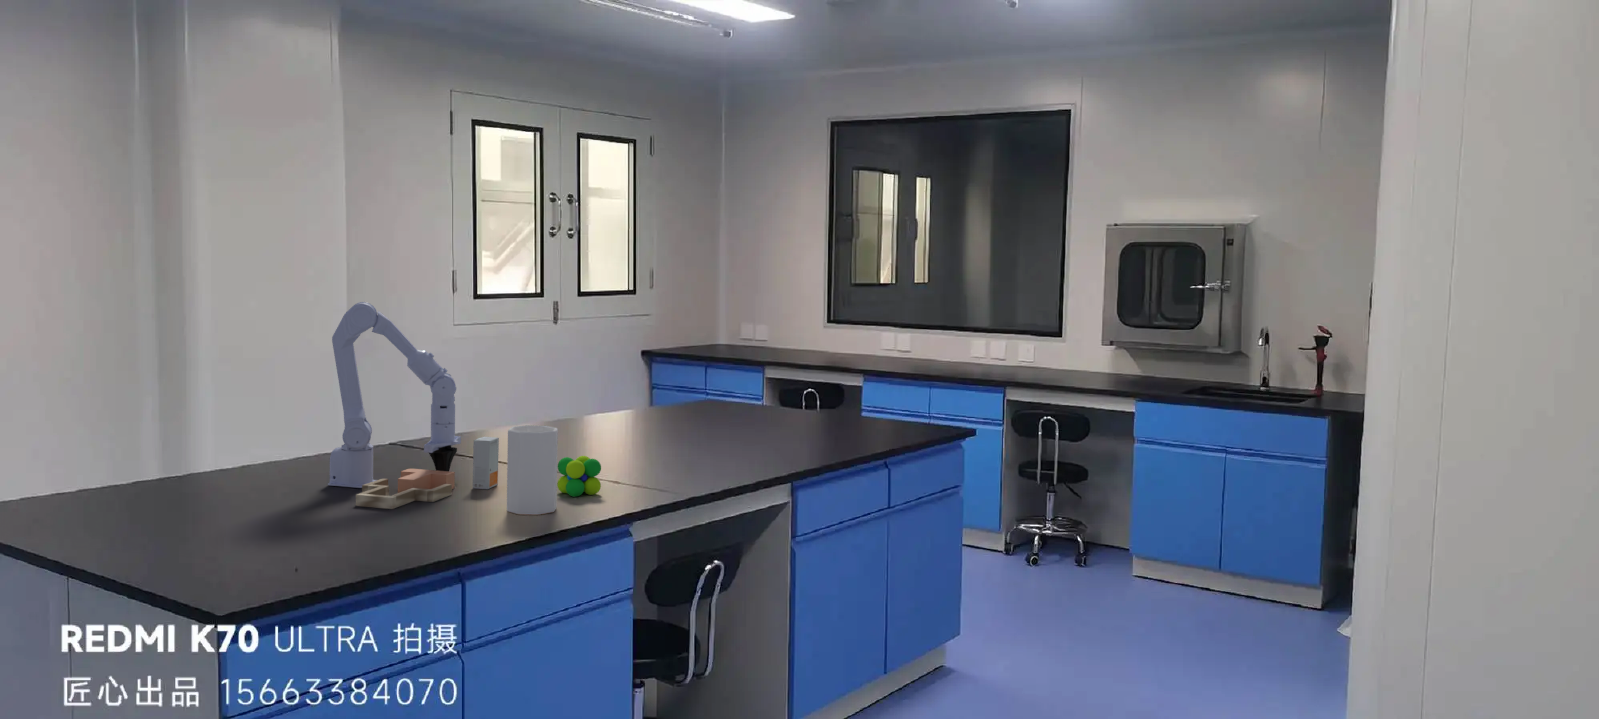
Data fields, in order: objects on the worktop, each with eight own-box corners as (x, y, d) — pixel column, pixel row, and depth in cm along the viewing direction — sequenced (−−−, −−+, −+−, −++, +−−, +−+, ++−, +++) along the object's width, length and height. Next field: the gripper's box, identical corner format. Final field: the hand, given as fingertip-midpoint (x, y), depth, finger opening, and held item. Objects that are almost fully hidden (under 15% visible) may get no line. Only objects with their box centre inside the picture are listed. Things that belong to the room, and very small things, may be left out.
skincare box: (488, 489, 277) (489, 441, 276) (472, 488, 277) (472, 439, 276) (498, 485, 283) (499, 437, 282) (482, 483, 283) (482, 436, 282)
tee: (382, 494, 268) (382, 477, 268) (409, 484, 280) (409, 468, 279) (429, 498, 266) (429, 481, 265) (454, 488, 277) (454, 471, 277)
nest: (337, 504, 256) (337, 493, 256) (382, 488, 273) (382, 478, 273) (410, 510, 252) (411, 499, 252) (451, 494, 270) (451, 484, 270)
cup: (512, 517, 250) (514, 433, 248) (501, 506, 260) (502, 425, 258) (562, 513, 255) (564, 431, 253) (549, 503, 265) (551, 424, 263)
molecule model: (570, 499, 270) (603, 495, 276) (571, 462, 269) (604, 459, 275) (554, 492, 277) (586, 488, 282) (554, 456, 276) (587, 453, 282)
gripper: (442, 427, 274) (442, 483, 275) (472, 419, 288) (471, 472, 290) (416, 426, 276) (415, 481, 277) (446, 418, 290) (446, 470, 291)
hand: (442, 476), depth 283 cm, fingers closed
